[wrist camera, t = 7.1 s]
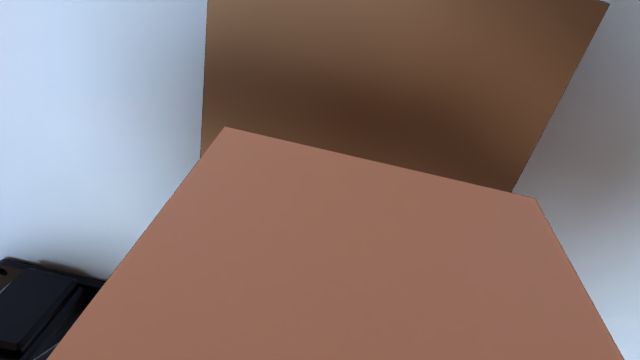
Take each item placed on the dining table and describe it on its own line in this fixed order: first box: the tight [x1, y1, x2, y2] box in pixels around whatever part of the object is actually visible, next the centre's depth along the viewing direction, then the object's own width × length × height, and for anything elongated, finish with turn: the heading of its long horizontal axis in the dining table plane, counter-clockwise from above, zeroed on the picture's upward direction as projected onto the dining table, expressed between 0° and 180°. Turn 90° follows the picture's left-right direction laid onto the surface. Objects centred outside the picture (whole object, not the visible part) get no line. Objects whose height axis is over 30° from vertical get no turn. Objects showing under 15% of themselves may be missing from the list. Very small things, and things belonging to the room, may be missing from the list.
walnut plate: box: [200, 0, 610, 193], centre depth 15 cm, size 11×11×2 cm
